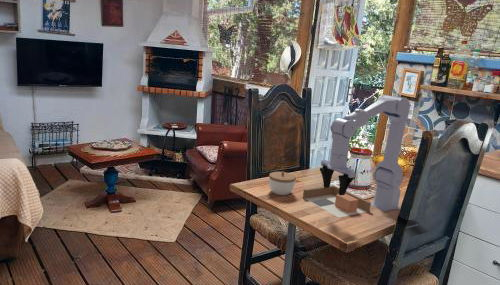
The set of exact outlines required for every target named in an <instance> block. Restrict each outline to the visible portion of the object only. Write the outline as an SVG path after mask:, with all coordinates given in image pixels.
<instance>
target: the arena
mask: <svg viewBox="0 0 500 285" xmlns="http://www.w3.org/2000/svg"><path fill="white" fill-rule="evenodd" d="M337 194H339V186H336V185H334V184H332V185H331V184H330V187H329V188H324V186H319V187H318V186H317V187H311V188H304V189H303V192H302V199H304V200H306V201H308V202H309V203H312V204H313V205H315V206H317V207H318V208H320V209H322V210H324V211H325V212H328V213H329V214H331V215H333V216H335V217H337V218H338V219H339V218H344V217H348V216H352V215H353V216H354V215H358V214H363V213H368V212H370V210H371V206H372V205H371V203H372V202H371V201H370V200H366V199H365V198H362V197H359V196H357V195H356V194H354V193H351V192H349V191H348V190H346V193H345V194H347V195H350V196H352V197H354V198H356V199H358V205H357V211H354V212H349V213H348V212H346V211H344V210H342V209H340V208H338V207H336V206H335V204H332V205H326V206H321V207H320V206H318V205H316V204H315V203H313V202H311V201H314V200H320V199H328V200H330V201H332V202H334V203H335V200H336V195H337Z"/></svg>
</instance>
